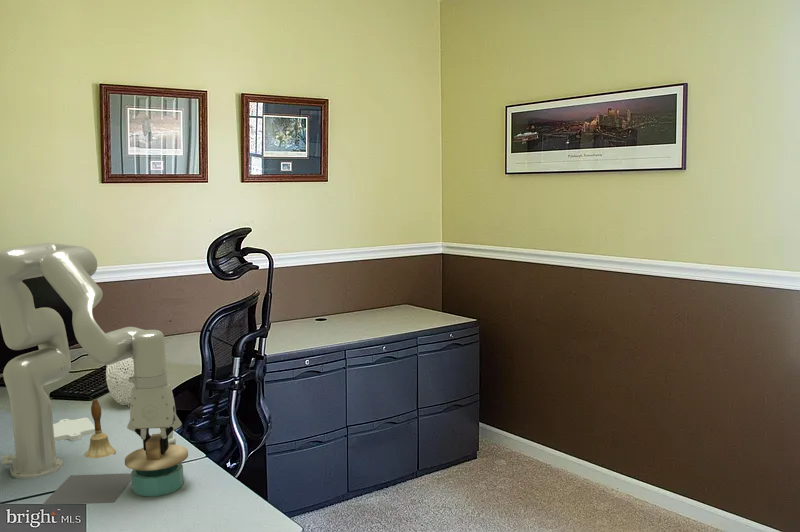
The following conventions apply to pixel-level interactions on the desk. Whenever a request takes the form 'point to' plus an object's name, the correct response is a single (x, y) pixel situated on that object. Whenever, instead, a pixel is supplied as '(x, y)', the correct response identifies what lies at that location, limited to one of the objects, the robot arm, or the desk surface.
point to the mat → (90, 489)
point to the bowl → (157, 481)
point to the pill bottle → (171, 438)
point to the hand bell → (98, 436)
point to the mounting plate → (73, 429)
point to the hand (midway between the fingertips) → (156, 452)
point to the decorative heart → (120, 380)
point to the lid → (155, 456)
